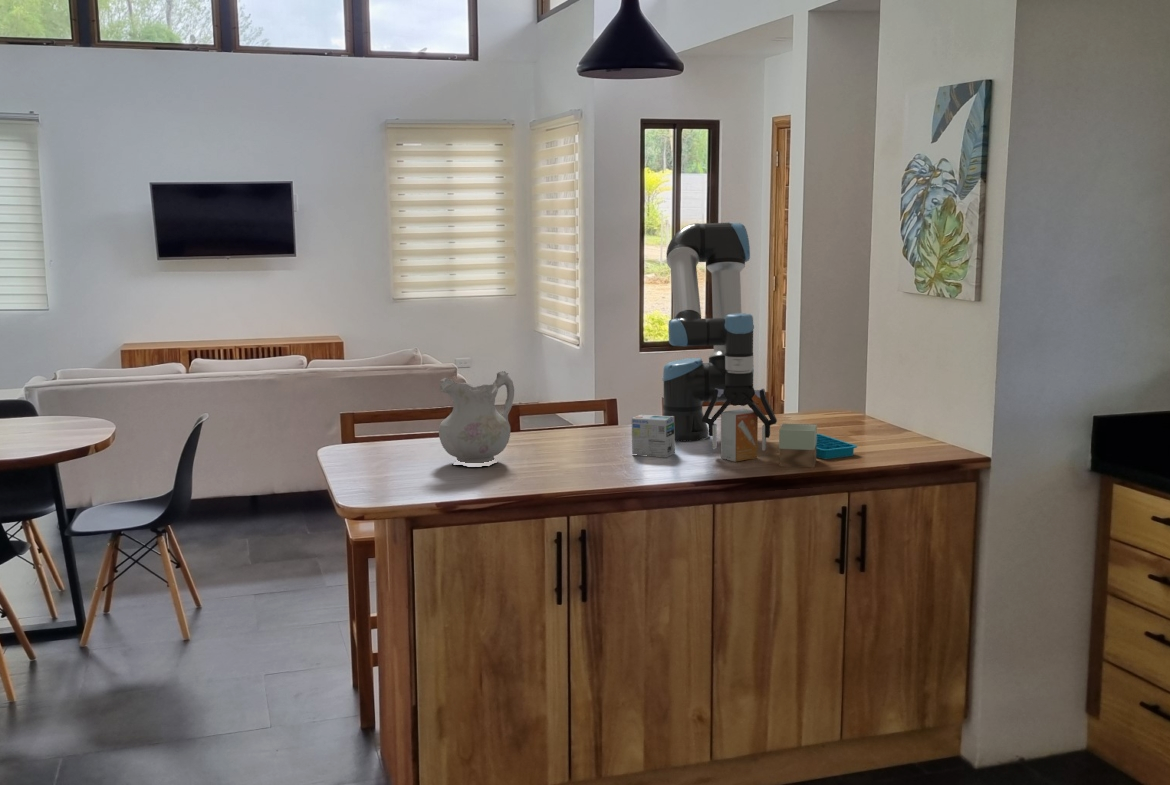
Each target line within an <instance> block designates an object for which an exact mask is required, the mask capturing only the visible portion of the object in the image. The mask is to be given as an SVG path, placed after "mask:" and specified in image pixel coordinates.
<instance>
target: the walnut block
mask: <svg viewBox="0 0 1170 785" xmlns="http://www.w3.org/2000/svg"><path fill="white" fill-rule="evenodd" d="M816 462H817V457H816V446H815V449H814V450H801V449H779V467H789V468H790V467H791V468H794V467H795V468H815V467H816Z"/></svg>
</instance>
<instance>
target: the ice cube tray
mask: <svg viewBox="0 0 1170 785" xmlns="http://www.w3.org/2000/svg"><path fill="white" fill-rule="evenodd" d="M856 448H858V445H857V444H853V443H850V442H847V441H844V440H841V439H837V438H834V437H831V436H828V435H825V434H821V433H817V443H816V458H819V459H823V460H827V459H828V460H829V459H836V458H837V457H838V458H845V457H853V456H854V450H855V449H856Z"/></svg>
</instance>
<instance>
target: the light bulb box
mask: <svg viewBox="0 0 1170 785" xmlns="http://www.w3.org/2000/svg"><path fill="white" fill-rule="evenodd" d="M631 452H632V453H631V455H632V454H637V455H647V456H646V457H649V456H657V457H656V458H663V457H667V458H669V457H671V456H673V455H674V454H675V453H676V441H675V426H674V416H662V415H656V414H655V415H654V414H653V415H652V414H638V415H636V416H634V417H631Z"/></svg>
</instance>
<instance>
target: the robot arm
mask: <svg viewBox="0 0 1170 785" xmlns="http://www.w3.org/2000/svg"><path fill="white" fill-rule="evenodd" d="M665 256H666V264H667V266H668V267H669V269H670V277H671V289H672V290H671V291H672V301H673V302H672V304H673V317H674V318H672V319H669V321H668V331H667V332H668V343H669V344H670V345H671V346H674V347H684V348H685V347H698V346H699V347H701V346H710V347H711V346H713V352H712V353H710V355H709V356H708V362H705V363H703V362H704V361H703V360H702V358H699V357H694V358H693V357H689V358H682V359H677V360H673V361H670V362H667V363H666V364H665V365H664V366H663V372H662V373H663V374H662V381H663V411H662V412H663V413H662V415H661V416H674V426H675V442H694V441H695V442H696V441H702V440H703V441H704V440H705V439H708V438H709V437H712V449H713V450H716V449H717V447H718V446H717V445H718V443H717V442H718V441H717V440H718V438H717V437H718V435H717V434H718V431H717V430H718V424H717V423H715V422H716V421H717V419H718V418H719V417H721V413H722V412H725V410H726V409H727V408H728V407H729V405H730V404H731V405H732V406H740V407H741V406H742V407H745V406H748V407H749V408H750V410H752V411H754V412H755V414H756V415H757V416H758V419H760V421H761V422H762V424H763V425H762V427H761V451H766V449H767V439H769V438H770V435H771V426H773V425H776V424H777V421H778V419H777V418H776V415H775V413H774V410H773V409H772V407H771V405H770V403H769V401H768V399H767V396H766V390H765V389H764V388H761V389H757V390H756V389H755V388H754V373H755V372H754V367H755V366H754V330H755V325H754V316H753V315H752V314H751V313H746V312H745V313H742V289H741V288H742V287H741V272H742V271H743V269H744V268H745V267H746V263H747V262H748V261H750V258H751V248H750V240H749V235H748V230H747V228H746V226H745V225H744V224H742V223H741V222H731V221H728V222H710V223H707V222H706V223H705V222H704V223H698V222H695V223H691V224H688V225H685V226H684V227H682V228H681V229H680V230H678V231H677V232H676V233H675V234H674V235H673V236H672V239H671V240H670V242H668V245H667V249H666V255H665ZM699 263H705V264H706V265H705V266H706V267H705V268H706V270H707V271H708V272H709V273H710V274H711V294H712V296H711V297H712V298H711V299H712V303H711V304H712V318H702V312H701V311H702V310H701V309H702V308H701V302H700V301H701V300H700V291H699V289H700V288H699V281H698V271H697V266H698V264H699ZM755 395H756V396H757V398H759V399H760V402H761V404H762V406H763V408H764V410H765V411H766V413H767V416H768V417H767V416H766V414H765V413H764V412H763V411H762V410H761V409H760V408H759V406H758V405H757V404H756V402H755V400H753V398H754V397H755ZM719 402H720V403H722V402H723V404H722V405H721V407H719V409H718V410H717V411H716V412H715V413H714V415H713V416H712V417H711V418H709V417H710V415H711V413H712V412H713V409H714V407H715V405H716V403H719ZM703 403H709V404H708V407H707V408H706V410H705V413H704V412H703Z"/></svg>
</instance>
